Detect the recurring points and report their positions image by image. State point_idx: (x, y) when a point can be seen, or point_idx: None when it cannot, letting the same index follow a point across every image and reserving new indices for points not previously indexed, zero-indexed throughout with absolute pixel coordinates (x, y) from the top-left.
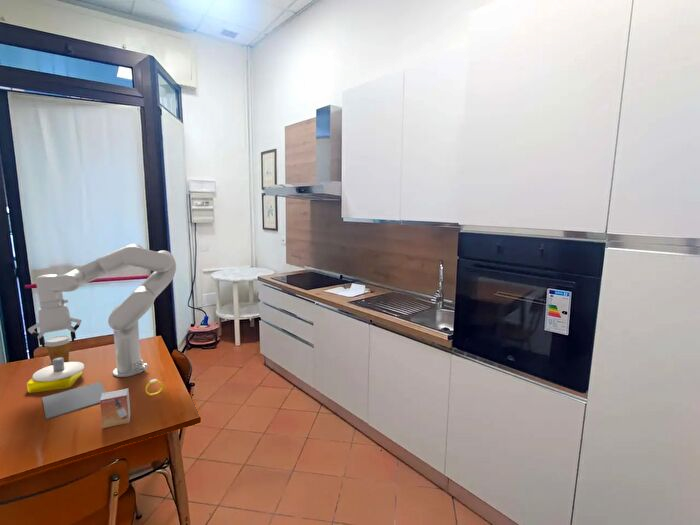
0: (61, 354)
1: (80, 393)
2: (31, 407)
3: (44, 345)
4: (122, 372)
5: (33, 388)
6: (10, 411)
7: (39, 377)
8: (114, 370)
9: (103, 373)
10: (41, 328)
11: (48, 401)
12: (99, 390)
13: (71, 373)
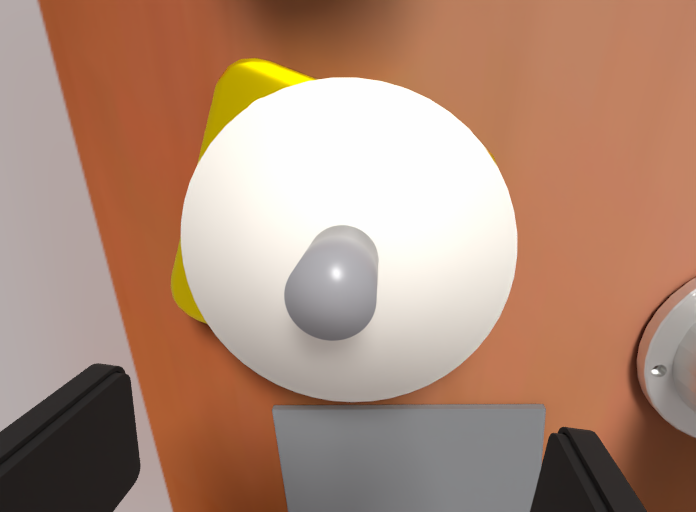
0: None
1: (431, 481)
2: (242, 461)
3: (127, 473)
4: (693, 411)
5: None
6: (170, 443)
7: (229, 318)
8: (668, 327)
9: (595, 275)
10: None
11: (302, 469)
12: (513, 506)
13: (415, 380)
